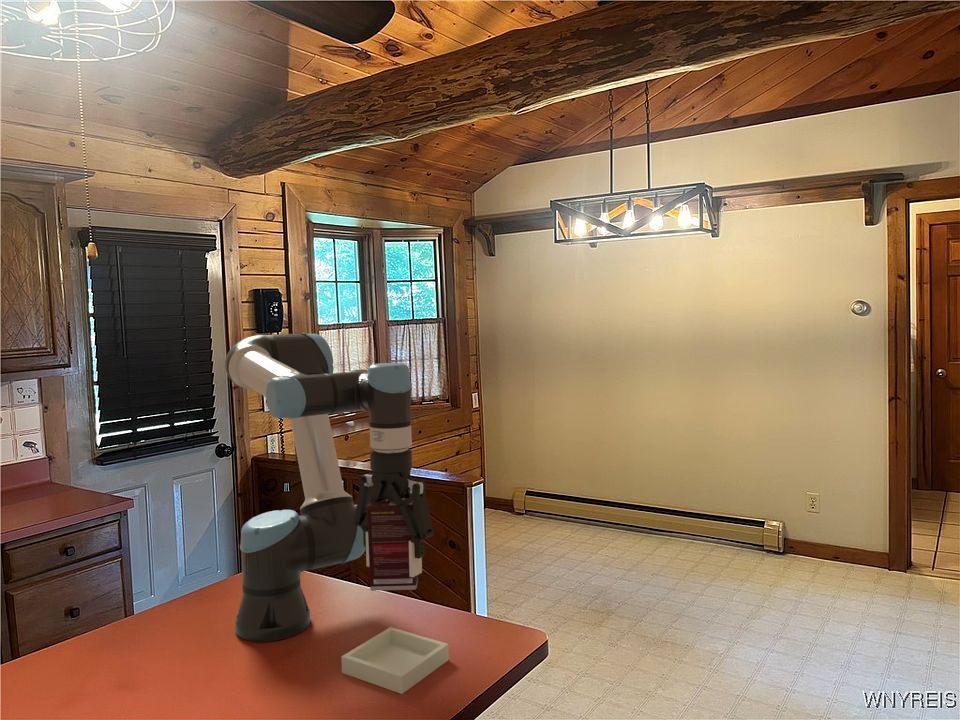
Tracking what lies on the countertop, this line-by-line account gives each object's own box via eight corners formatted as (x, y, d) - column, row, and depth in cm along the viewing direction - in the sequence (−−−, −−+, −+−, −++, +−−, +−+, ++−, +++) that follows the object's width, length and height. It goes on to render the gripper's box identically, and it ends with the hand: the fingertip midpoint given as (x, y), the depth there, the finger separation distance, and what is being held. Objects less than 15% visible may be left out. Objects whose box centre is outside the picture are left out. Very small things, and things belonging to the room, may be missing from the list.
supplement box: (418, 580, 135) (416, 497, 134) (416, 590, 131) (414, 504, 129) (372, 581, 135) (370, 497, 134) (368, 591, 131) (366, 505, 129)
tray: (341, 672, 132) (341, 656, 132) (391, 642, 144) (390, 626, 144) (402, 694, 125) (401, 676, 124) (448, 659, 136) (448, 643, 136)
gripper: (331, 446, 134) (335, 564, 135) (427, 458, 122) (430, 588, 124) (359, 439, 140) (362, 552, 142) (452, 450, 128) (455, 574, 130)
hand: (393, 569), depth 133 cm, fingers closed on supplement box, 9 cm apart
